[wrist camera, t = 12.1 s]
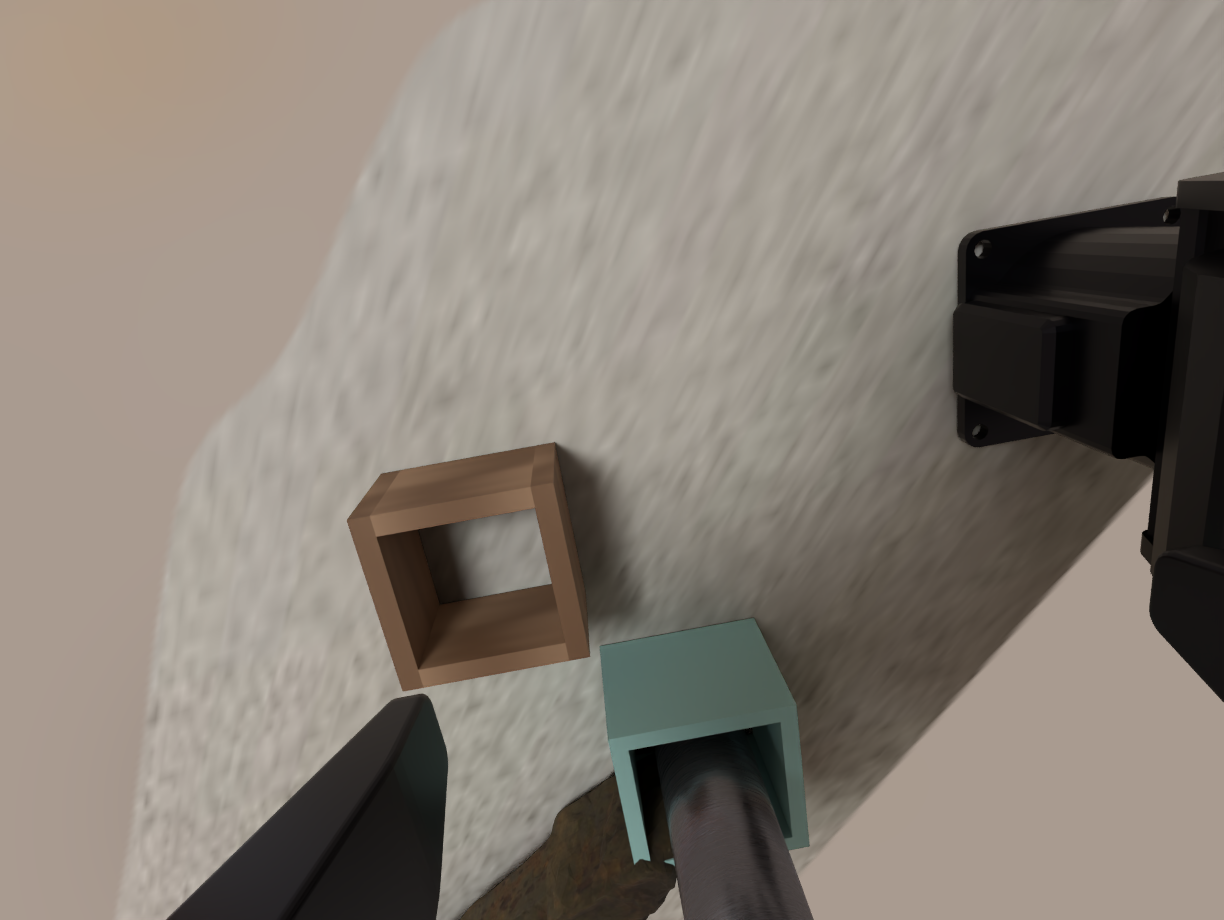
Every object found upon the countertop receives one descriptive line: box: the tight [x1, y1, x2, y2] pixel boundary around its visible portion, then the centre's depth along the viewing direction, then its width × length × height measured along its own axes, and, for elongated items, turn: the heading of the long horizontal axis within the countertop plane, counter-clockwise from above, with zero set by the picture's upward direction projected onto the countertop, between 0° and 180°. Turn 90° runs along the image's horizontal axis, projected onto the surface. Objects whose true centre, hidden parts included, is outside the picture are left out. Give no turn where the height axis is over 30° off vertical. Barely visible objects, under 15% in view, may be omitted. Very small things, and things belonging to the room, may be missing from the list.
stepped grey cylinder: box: [654, 729, 814, 920], centre depth 18 cm, size 3×3×13 cm
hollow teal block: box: [600, 618, 810, 866], centre depth 22 cm, size 5×5×4 cm
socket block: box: [347, 442, 590, 691], centre depth 20 cm, size 5×5×4 cm
